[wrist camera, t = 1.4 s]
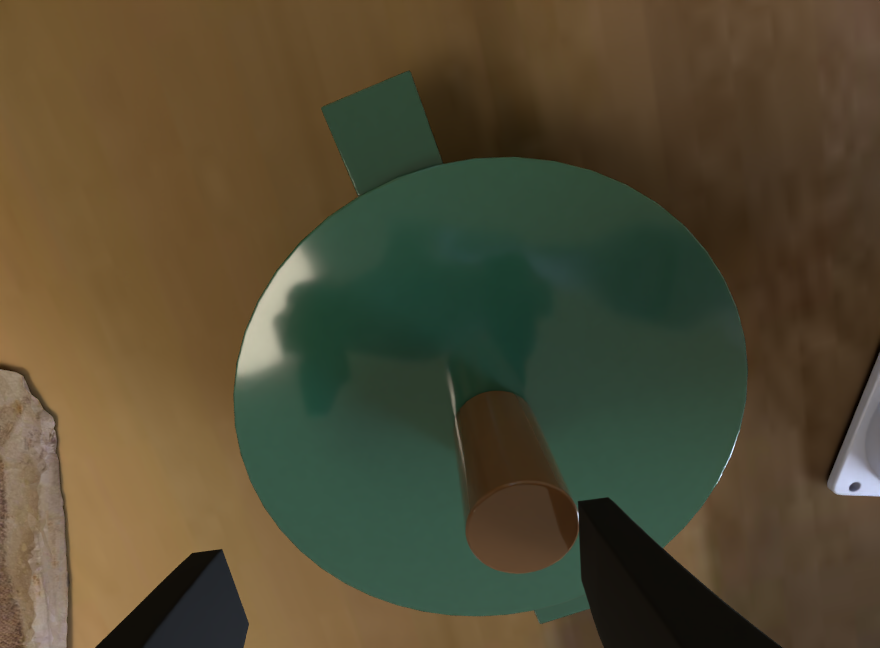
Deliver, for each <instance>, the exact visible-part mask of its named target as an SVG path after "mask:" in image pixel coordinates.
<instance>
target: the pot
mask: <svg viewBox="0 0 880 648" xmlns="http://www.w3.org/2000/svg"><path fill="white" fill-rule="evenodd" d="M321 110H322V112H323V115H324V117H325V119H326V122H327V124H328V127H329V129H330V131H331V134H332V136H333V138H334V141H335V143H336V145H337V148H338V150H339V152H340V155H341V157H342V160H343V162H344V164H345V167H346V169H347V171H348V174H349V176H350V178H351V181H352V183H353V185H354V188H355V190H356V193H357V195H358V196H360V195H361V194H363V193H365V192H367V191H369V190H372V189H374V188H376V187H378V186H380V185H382V184H384V183H386V182H388V181H390V180H392V179H394V178H396V177H399V176H402V175H405V174H408V173H411V172H414V171H417V170H421V169H424V168H427V167H430V166H433V165H437V164H443V161H442V158H441V156H440V153H439V150H438V147H437V144H436V141H435V139H434V136H433V133H432V130H431V127H430V125H429V122H428V119H427V116H426V113H425V111H424V108H423V105H422V102H421V99H420V97H419V94H418V91H417V88H416V85H415V83H414V80H413V77H412V74H411V72H410V71H406V72H404V73H401V74H399V75H396V76H394V77H392V78H389V79H387V80H385V81H382V82H380V83H377V84H375V85H373V86H370V87H368V88H365V89H363V90H361V91H358V92H356V93H354V94H351V95H349V96H346V97H344V98H342V99H339V100H337V101H335V102H332V103H330V104H327V105H325V106H323V107H321ZM587 609H590V606H589V603H588V600H587V597H586V595H583V596H581V597H578V598H575V599H572V600H570V601H567V602H564V603H561V604H557V605H553V606H550V607H546V608H542V609H538V610H534V612H535V615H536V617H537V619H538V622H539V623H540V624H543V623H546V622H549V621H552V620H555V619H559V618H562V617H565V616H568V615H571V614H575V613H578V612H581V611H584V610H587Z"/></svg>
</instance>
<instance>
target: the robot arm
mask: <svg viewBox="0 0 880 648" xmlns="http://www.w3.org/2000/svg"><path fill="white" fill-rule="evenodd" d="M827 486H828V488H829V489H830V490H832V491H833V492H834V493H835V494H838V495H858V496H880V352H879V355H878V357H877V360H876V362H875V365H874V367H873V370H872V372H871V375H870V377H869V380H868V382H867V385H866V387H865V390H864V392H863V395H862V397H861V400H860V402H859V405H858V407H857V409H856V412H855V414H854V417H853V419H852V422H851V424H850V427H849V429H848V432H847V434H846V437H845V439H844V442H843V444H842V447H841V449H840V452H839V454H838V457H837V459H836V462H835V464H834V466H833V469H832V471H831V474H830V476H829V479H828V482H827ZM578 517H579V541H580V564H581V580H582V584H583V587H584V590H585V593H586V597H587V600H588V603H589V606H590V609H591V613H592V616H593V619H594V622H595V625H596V628H597V631H598V634H599V636H600V639H601V641H602V644H603V646H604V648H782V647H781V646H780V645H778V644H777V643H776V642H774V641H773V640H772V639H771V638H769V637H768V636H767V635H765V634H764V633H763V632H761V631H760V630H759V629H758V628H756V627H755V626H754V625H753V624H751V623H750V622H749V621H748V620H746V619H745V618H744V617H743V616H741V615H740V614H739V613H738V612H736V611H735V610H734V609H733V608H731V607H730V606H729V605H728V604H726V603H725V602H724V601H723V600H722V599H720V598H719V597H718V596H717V595H716V594H714V593H713V592H712V591H711V590H710V589H708V588H707V587H706V586H705V585H704V584H703V583H701V582H700V581H699V580H698V579H697V578H696V577H695V576H693V575H692V574H691V573H690V572H689V571H688V570H687V569H685V568H684V567H683V566H682V565H681V564H680V563H678V562H677V561H676V560H675V559H674V558H673V557H672V556H671V555H670V554H668V553H667V552H666V551H665V550H664V549H663V548H662V547H661V546H660V545H659V544H658V543H657V542H655V541H654V540H653V539H652V538H651V537H650V536H649V535H648V534H647V533H646V532H645V531H644V530H643V529H642V528H641V527H640V526H638V525H637V524H636V523H635V522H634V521H633V520H632V519H631V518H630V517H629V516H628V515H627V514H626V513H625V512H624V511H623V510H622V509H621V508H620V507H619V506H618V505H617V504H616V503H615V502H614V501H612V500H611V499H610V498H609V497H605V498H598V499H591V500H583V501H578ZM248 626H249V623H248V620H247V617H246V614H245V612H244V609H243V606H242V603H241V600H240V598H239V595H238V592H237V589H236V587H235V584H234V581H233V578H232V575H231V573H230V570H229V567H228V564H227V562H226V559H225V556H224V553H223V550H222V549H220V550H212V551H205V552H197V553H192V554H191V555H190V556H189V557H188V558H186V559H185V560H184V561H183V562H182V563H181V564H180V565H179V566H178V567H177V568H176V569H175V570H174V571H173V572H172V573H171V574H170V575H168V576H167V577H166V578H165V579H164V580H163V581H162V582H161V583H160V584H159V585H158V586H157V587H156V588H155V589H154V590H153V591H152V592H151V593H150V594H149V595H148V596H147V597H146V598H145V599H144V600H143V601H142V602H141V603H140V604H139V605H138V606H137V607H136V608H135V609H134V610H133V611H132V612H131V613H130V614H129V615H128V616H127V617H126V618H125V619H124V620H123V621H122V622H121V623H120V624H119V625H118V626H117V627H116V628H115V629H114V630H113V631H112V632H111V633H110V634H109V635H108V636H107V637H106V638H105V639H103V640H102V641H101V642H100V643H99V644H98V645H97V646H96V647H95V648H243V647H244V643H245V639H246V634H247V630H248Z"/></svg>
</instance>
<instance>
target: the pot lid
mask: <svg viewBox="0 0 880 648" xmlns="http://www.w3.org/2000/svg"><path fill="white" fill-rule="evenodd" d="M747 377H748V365H747V355H746V344H745V337H744V333H743V329H742V325H741V321H740V317H739V313H738V309H737V307H736V305H735V302H734V300H733V298H732V295H731V293H730V290H729V288H728V286H727V283H726V281H725V279H724V277H723V276H722V274H721V273H720V271H719V269H718V268H717V266H716V265H715V263H714V261H713V260H712V258H711V257H710V255H709V253H708V252H707V251H706V249H705V248H704V247H703V246H702V245H701V244H700V243H699V241H698V240H697V239H696V238H695V237H694V236H693V235H692V233H691V232H690V231H689V230H688V229H687V228H686V227H685V226H684V225H683V224H682V223H681V222H680V221H678V220H677V219H676V218H675V217H674V216H672V215H671V214H670V213H669V212H668V211H666V210H665V209H664V208H663V207H662V206H660V205H659V204H658V203H657V202H655V201H653V200H652V199H650V198H648V197H647V196H645V195H643V194H642V193H640V192H638V191H637V190H635V189H633V188H632V187H630V186H628V185H627V184H624V183H622V182H619V181H617V180H615V179H612V178H610V177H607V176H605V175H603V174H600V173H598V172H595V171H593V170H590V169H586V168H582V167H578V166H574V165H570V164H566V163H562V162H558V161H553V160H543V159H534V158H524V157H490V158H471V159H465V160H460V161H454V162H448V163H443V164H437V165H433V166H430V167H427V168H424V169H421V170H417V171H414V172H411V173H408V174H405V175H402V176H399V177H396V178H394V179H392V180H390V181H388V182H386V183H384V184H382V185H380V186H378V187H376V188H374V189H372V190H369V191H367V192H365V193H363V194H361V195H360V196H358V197H357V198H355V199H354V200H352V201H351V202H349V203H348V204H346V205H345V206H343V207H342V208H340V209H339V210H337V211H336V212H334V213H333V214H331V215H330V216H328V217H327V218H326V219H325V220H324V221H323V222H322V223H321V224H320V225H318V226H317V227H316V228H315V229H314V230H313V231H312V232H311V233H309V234H308V235H307V236H306V237H305V238H304V239H303V240H302V241H301V242H300V243H299V244H298V245H297V246H296V247H295V249H294V250H293V251H292V252H291V253H290V255H289V256H288V257H287V258H286V259H285V261H284V262H283V263H282V264H281V265H280V266H279V268H278V269H277V270H276V272H275V273H274V275H273V277H272V278H271V280H270V282H269V283H268V285H267V286H266V288H265V290H264V291H263V293H262V294H261V296H260V298H259V299H258V302H257V304H256V306H255V309H254V311H253V313H252V316H251V318H250V320H249V323H248V325H247V327H246V330H245V332H244V336H243V340H242V344H241V348H240V352H239V356H238V359H237V364H236V374H235V384H234V393H233V396H234V416H235V428H236V433H237V438H238V443H239V448H240V453H241V456H242V459H243V462H244V465H245V467H246V470H247V473H248V476H249V479H250V481H251V483H252V485H253V487H254V489H255V491H256V493H257V495H258V497H259V499H260V500H261V502H262V504H263V506H264V508H265V509H266V511H267V512H268V513H269V515H270V516H271V517H272V519H273V520H274V522H275V523H276V524H277V526H278V527H279V529H280V530H281V531H282V532H283V533H284V534H285V535H286V536H287V537H288V539H289V540H290V541H291V542H292V543H293V544H294V545H295V546H296V547H297V548H298V549H299V550H300V551H301V552H302V553H303V554H305V555H306V556H307V557H308V558H310V559H311V560H312V561H313V562H314V563H316V564H317V565H318V566H319V567H320V568H322V569H323V570H325V571H326V572H328V573H330V574H331V575H333V576H334V577H336V578H337V579H339V580H341V581H342V582H344V583H345V584H347V585H349V586H351V587H353V588H356V589H358V590H360V591H362V592H364V593H366V594H368V595H370V596H373V597H375V598H378V599H381V600H384V601H387V602H389V603H392V604H395V605H398V606H402V607H407V608H411V609H415V610H419V611H423V612H430V613H437V614H445V615H454V616H494V615H509V614H515V613H521V612H527V611H533V610H538V609H542V608H546V607H550V606H553V605H557V604H561V603H564V602H567V601H570V600H572V599H575V598H578V597H581V596H583V595H586V593H585V590H584V587H583V584H582V580H581V564H580V541H579V517H578V501H583V500H591V499H598V498H605V497H609V498H610V499H611V500H612V501H614V502H615V503H616V504H617V505H618V506H619V507H620V508H621V509H622V510H623V511H624V512H625V513H626V514H627V515H628V516H629V517H630V518H631V519H632V520H633V521H634V522H635V523H636V524H637V525H638V526H640V527H641V528H642V529H643V530H644V531H645V532H646V533H647V534H648V535H649V536H650V537H651V538H652V539H653V540H654V541H655V542H657V543H658V544H659V545H660V546H661V547H662V548H663V547H665V546H666V545H667V544H668V543H669V542H670V541H671V540H672V539H673V538H674V537H675V536H676V535H677V534H678V533H679V532H680V531H681V530H682V529H683V528H684V527H685V526H686V525H687V524H688V522H689V521H690V520H691V519H692V518H693V517H694V515H695V514H696V513H697V512H698V511H699V509H700V508H701V507H702V506H703V504H704V503H705V501H706V500H707V498H708V497H709V495H710V494H711V492H712V491H713V489H714V487H715V486H716V484H717V483H718V481H719V479H720V477H721V475H722V473H723V471H724V469H725V467H726V465H727V463H728V461H729V459H730V457H731V455H732V452H733V449H734V446H735V443H736V440H737V437H738V434H739V431H740V428H741V423H742V418H743V413H744V408H745V403H746V395H747Z"/></svg>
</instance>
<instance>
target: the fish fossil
mask: <svg viewBox="0 0 880 648" xmlns="http://www.w3.org/2000/svg"><path fill="white" fill-rule="evenodd" d="M54 426H55V422H54V419H53V417H52V416H51V415H50V414H49V413H47V412H46V411H45V410H44V409H43V408H42V406H41V404H40V402H39V400H38V399H37V398H35V397H34V396H32V395H31V393H30V390H29V388H28V385H27V383H26V381H25V379H24V377H23V376H22V375H20V374H18V373H16V372H12V371H6V370H0V648H66V646H67V640H66V637H67V622H66V620H67V615H68V614H67V607H68V596H67V593H68V587H69V577H68V573H67V558H66V555H65V554H66V552H67V548H66V541H65V515H64V512H63V508H62V506H63V504H64V502H63V499H62V495H61V492H60V478H59V460H58V457H57V454H56V453H55V450H56V446H57V438H56V432H55V430H54V429H53V428H54Z"/></svg>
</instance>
